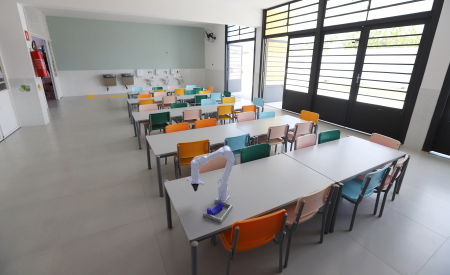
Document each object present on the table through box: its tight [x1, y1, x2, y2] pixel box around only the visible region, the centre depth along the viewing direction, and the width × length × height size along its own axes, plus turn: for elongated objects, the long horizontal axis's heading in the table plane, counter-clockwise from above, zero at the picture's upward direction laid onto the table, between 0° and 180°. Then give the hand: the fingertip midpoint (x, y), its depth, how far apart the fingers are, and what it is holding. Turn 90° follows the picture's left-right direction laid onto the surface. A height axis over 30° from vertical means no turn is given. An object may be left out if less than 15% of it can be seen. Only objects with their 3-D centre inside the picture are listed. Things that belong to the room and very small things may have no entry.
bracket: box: [202, 198, 233, 223], centre depth 161 cm, size 18×14×2 cm
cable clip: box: [206, 202, 224, 216], centre depth 160 cm, size 12×4×6 cm, turn 131°
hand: (195, 190), depth 169 cm, fingers closed
